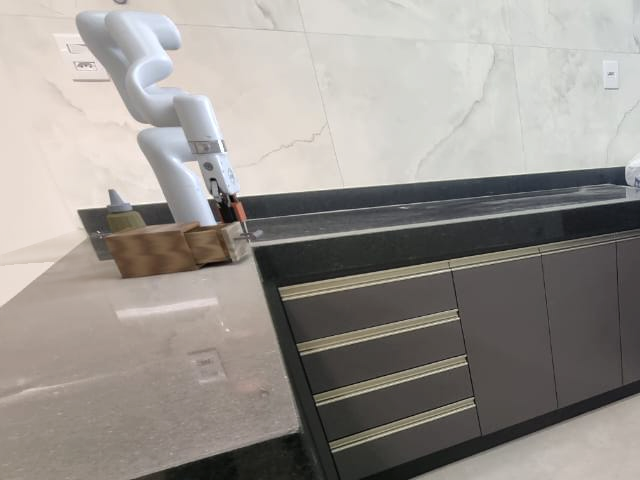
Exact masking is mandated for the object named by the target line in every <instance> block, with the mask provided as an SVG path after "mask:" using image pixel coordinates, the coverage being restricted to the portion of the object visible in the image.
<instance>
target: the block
mask: <svg viewBox="0 0 640 480" xmlns="http://www.w3.org/2000/svg"><path fill="white" fill-rule="evenodd" d="M231 206H232V207H234V210H235V213H236V215H237V218H238V222H240V223H243V222H245V221H247V216H246V213H245V209H244V207H243V205H242V202H241V201H239V202H235V203H231ZM215 208H216V212H217V214H218V217H219V219H220V221H221V224H228V225H229V223H224V222H223V219H222V216H221V213H220V211H219V208H218V206H217V205H215Z"/></svg>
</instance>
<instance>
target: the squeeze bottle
mask: <svg viewBox="0 0 640 480" xmlns="http://www.w3.org/2000/svg"><path fill="white" fill-rule="evenodd" d="M107 191H108V192H107V193H108V196H109V202H110V204H107V205H106V209H107V211H108V214H107V215H106V216H105V217H106V220H107V223H108V227H109V230H110V232H111V234H114V233H116V232H119V231H121V230H124V229H127V228H131V227H142V226H147V224H146V222H145V221H144V219H143V217H142V215H141V213H140V212H138V211H136V210H133V207H132V205H131V203H130V202H124V200H123V199H122V198H121V196H120V195H119V194H118V191H116V190H115V188H110V189H108V190H107Z"/></svg>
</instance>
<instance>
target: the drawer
mask: <svg viewBox="0 0 640 480" xmlns="http://www.w3.org/2000/svg"><path fill="white" fill-rule="evenodd" d="M183 234H184V236H185V239H186V241H187V244H188V246H189V249H190V251H191V253H192V256H193V258H194V261H195V263H196V264H199V263H206V264H208V263H216V262H224V261H225V262H226V261H228V260H229V259H231V262H238V261H240V260H242V258H243V257H245V256H246V255H247V254H248V253H250V252H251V249H250V247H249V244H248V241H247V240H251V241H256V240H257V239H259V238H261V236H263V235H264V231H263V230H261V229H257V230H256V231H250V232H249V231H248V232H244V230H243V228H242V224H241V222H233V223H228V224H222V223H221V224H217V225H209V226H198V227H194V228H192V229H190V230H188V231H186V232H184V233H183Z"/></svg>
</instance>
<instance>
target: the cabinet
mask: <svg viewBox="0 0 640 480" xmlns="http://www.w3.org/2000/svg"><path fill="white" fill-rule="evenodd" d="M198 226H201V225H200V222H199V221H196V222H185V223H164V224H154V225H146V226H142V227H131V228H127V229H124V230H121V231H119V232H116V233H114V234H112V233H110V234H108V235H105V236H103V237H102V238H103V241H104V242H105V244H106V246H107V249H108V250H109V252H110V255H111V257H112V259H113V261H114V263H115V266H116V267H117V269H118V271H119V274H120V276H121V278H122V279H131V278H139V277H147V276H157V275H165V274H173V273H181V272H191V271H197V270H199V269H201V268H202V267H203V266H205V265H206V264H207V263H199V264H196V263H195V261H194V258H193V256H192V253H191V251H190V249H189V246H188V244H187V241H186V239H185V236H184V234H183V233H184V232H186V231H188V230H190V229H192V228H194V227H198Z"/></svg>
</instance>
